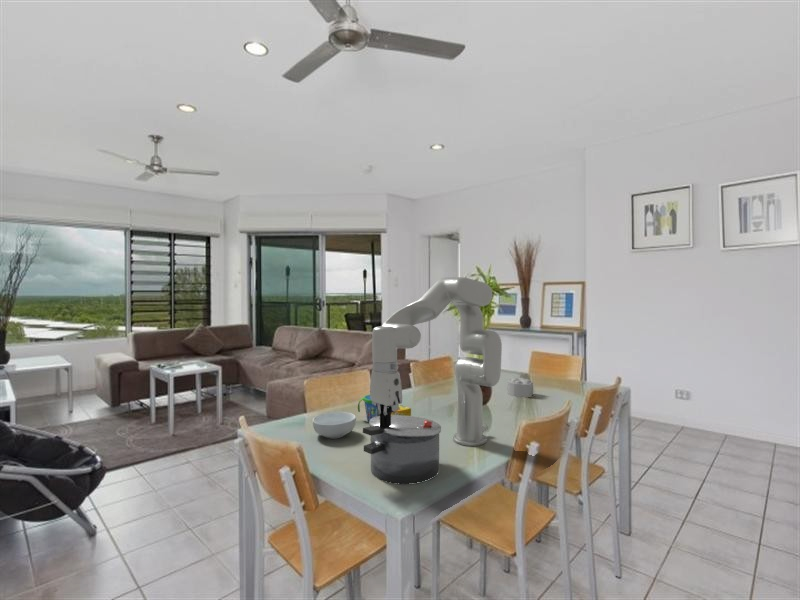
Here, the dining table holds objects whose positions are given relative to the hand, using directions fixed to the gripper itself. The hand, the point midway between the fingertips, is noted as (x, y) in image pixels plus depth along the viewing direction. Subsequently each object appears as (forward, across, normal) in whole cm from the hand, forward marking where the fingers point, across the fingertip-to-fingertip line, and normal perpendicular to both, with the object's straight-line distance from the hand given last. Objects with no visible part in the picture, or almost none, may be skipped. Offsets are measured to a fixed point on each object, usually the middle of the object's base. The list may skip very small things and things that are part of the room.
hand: (385, 426), depth 128 cm
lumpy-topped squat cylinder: (+17, +18, -119) cm, 121 cm away
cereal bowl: (+16, +41, -12) cm, 46 cm away
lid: (+2, 0, -7) cm, 7 cm away
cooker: (+16, 0, -7) cm, 17 cm away
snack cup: (+16, +43, -36) cm, 58 cm away
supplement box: (+16, +22, -30) cm, 40 cm away
